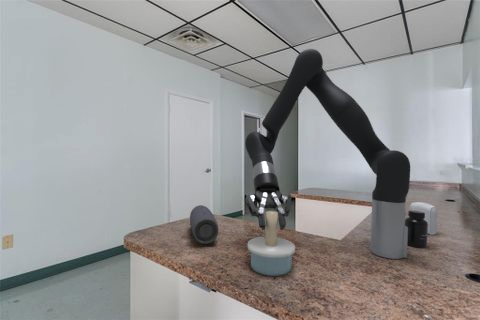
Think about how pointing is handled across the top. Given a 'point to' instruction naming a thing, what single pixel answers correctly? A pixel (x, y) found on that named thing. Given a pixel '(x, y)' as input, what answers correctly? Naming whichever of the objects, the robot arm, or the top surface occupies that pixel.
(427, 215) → the photo printer
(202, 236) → the bluetooth speaker
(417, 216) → the supplement bottle
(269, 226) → the lid
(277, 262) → the bowl
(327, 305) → the top surface
